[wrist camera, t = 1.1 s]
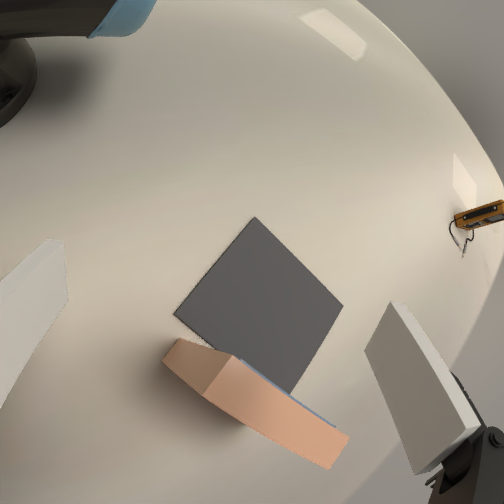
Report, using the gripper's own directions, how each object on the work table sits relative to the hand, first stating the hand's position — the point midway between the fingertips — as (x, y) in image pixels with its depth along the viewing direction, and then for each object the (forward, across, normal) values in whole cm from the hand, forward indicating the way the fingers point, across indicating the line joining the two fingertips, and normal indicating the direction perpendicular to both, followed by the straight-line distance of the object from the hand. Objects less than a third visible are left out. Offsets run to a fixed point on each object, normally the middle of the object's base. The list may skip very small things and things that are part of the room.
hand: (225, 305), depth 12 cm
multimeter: (+43, +53, -4) cm, 68 cm away
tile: (+12, +2, -19) cm, 22 cm away
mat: (+19, +7, -13) cm, 24 cm away
